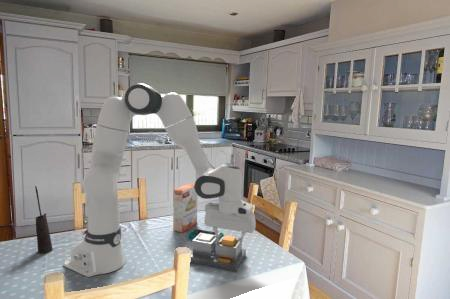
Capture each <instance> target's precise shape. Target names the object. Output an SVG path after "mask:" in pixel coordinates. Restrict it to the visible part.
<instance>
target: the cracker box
mask: <svg viewBox="0 0 450 299" xmlns="http://www.w3.org/2000/svg"><path fill="white" fill-rule="evenodd" d="M194 185H195V183H186V184H184V185H182V186H179V187H176V188H175V189H173V199H172V200H173V205H172V206H173V207H172V208H173V210H172V211H173V215H172V219H173V220H172V224H173V227H172V228H173V229H172V231H174V232H178V233H185V231H187V230H189V229H190V228H192V227H194V226H195V225H196V224H197V223H198V197H199V196H198V195H197V193H196V192H195V188H194Z"/></svg>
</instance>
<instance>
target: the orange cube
mask: <svg viewBox="0 0 450 299" xmlns="http://www.w3.org/2000/svg"><path fill="white" fill-rule="evenodd" d="M236 239H237V236H234V235H229V234H224V237H223V238H222V245H226V246H231V247H235V246H236Z"/></svg>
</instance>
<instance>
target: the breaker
mask: <svg viewBox="0 0 450 299" xmlns="http://www.w3.org/2000/svg"><path fill="white" fill-rule="evenodd" d="M213 239H214V235H208V234H202V235H201V236H200V237H199V238H198V241H203V242H209V243H210V242H211V241H212V240H213Z"/></svg>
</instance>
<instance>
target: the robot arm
mask: <svg viewBox="0 0 450 299" xmlns="http://www.w3.org/2000/svg"><path fill="white" fill-rule="evenodd" d="M151 114H153V115H154V114H155V115H157V117H158V118H159V119H160V120H161V123H162V125H163V127H164V129H165V132H166V133H167V135H168V137H169V138H170V140H171V141H172V142H173V144H174V145H176V146H178V147H179V148H181V149H182V150H184V151H185V152H186V154H187V156H188V158H189V160H190V162H191V164H192V167H193V168H194V170H195V182H194V184H195V185H194V188H195V192H196V193H197V195H198V197H200V198H202V199H205V200H207V199H208V200H209V199H216V198H218V203H213V202H208V203H206V204H205V206H204V212H205V215H204V221H203V222H204V225H205V226H207V227H212V231H213V232H215V234H216V238H220V234H221V233H222V232H220V231H219V229H224V230H230V231H237V232H240V233H241V235H239V236H238V237H237V239H239V240H238V241H239V242H242V243H243V242H244V236H245V235H246V233H248V234H252V233H254V231H255V230H256V227H257V226H256V224H257V222H256V216H255V215H256V214H255V212H253V211H254V205H253V204H251V203H249V202H248V201H244V200H243V199H242V189H243V175H242V170H241V168H240V167H239V166H238V165H236V164H233V163H228V162H227V163H226V162H225V163H222V164H221V165H219V166H218V167H216V168H215V167H214V166H213V165H212V164H211V163H210V162H209V160H208V158H207V155H206V154H205V151H204V149H203V147H202V144H201V141H200V137H199V131H198V127H197V124H196V121H195V118H194V117H193V115H192V112H191V110H190V108H189V107H188V105H187V103H186V102H185V100H184V99H183V97H182V96H181V95H180V94H179V93H176V92H168V93H165V94H160V93H159V92H158V91H157V90H156V89H155V88H154V87H153V86H152V85H150V84H146V83H141V82H140V83H134V84H132V85H131V86H129V87H128V88H127V89H126V91H125V93H124V96H123V97H120V96H111V97H108V98H106V99H105V101H104V102H103V104H102V107H101V109H100V112H99V115H98V118H97V123H96V128H95V132H94V136H93V142H92V146H91V148H92V149H91V157H90V163H89V168H88V171H87V172H86V174H85V175H84V177H83V181H82V188H83V196H84V202H85V207H86V213H87V228H86V230H84V231H82V234H81V235H82V236H83V235H84V238H83V239H82V240H81V241H79V242H78V243H77V244H75V245H74V246H73V247H72V249H71V252H70V257H68V258H66V260H65V261H64V263H63V266H64V267H65V268H67V269H70V270H72V271H74V272H76V273H78V274H80V275H83V276H84V277H87V278H89V277H93V276H96V275H97V276H98V275H103V274H104V275H105V274H109V273H111V272H114V271H115V272H116V271H118V270H119V269H121V268H122V267H123V266H124V265H125V263H126V259H125V257H124V256H125V255H124V253H123V248H122V242H121V240H122V229H121V228H122V227H121V226H120V206H119V196H118V195H119V193H118V182H119V178H120V173H121V170H122V169H121V168H122V163H123V158H124V154H125V149H126V144H127V140H128V136H129V131H130V125H131V122H132V119H133V118H134V117H135V116H138V115H140V116H148V115H151Z"/></svg>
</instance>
